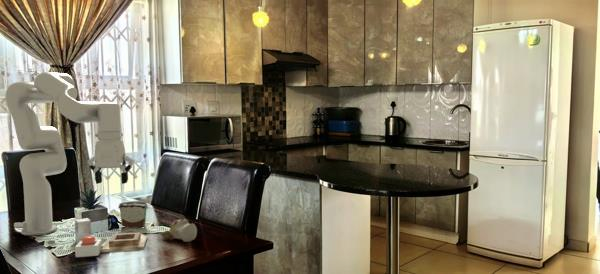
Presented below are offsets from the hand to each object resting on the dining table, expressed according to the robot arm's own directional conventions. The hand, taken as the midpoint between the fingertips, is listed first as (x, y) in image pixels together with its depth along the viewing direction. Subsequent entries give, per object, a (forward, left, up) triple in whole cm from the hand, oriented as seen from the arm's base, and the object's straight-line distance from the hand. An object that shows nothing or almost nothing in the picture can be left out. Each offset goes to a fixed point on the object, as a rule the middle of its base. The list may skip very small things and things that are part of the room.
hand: (111, 183), depth 171 cm
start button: (-7, -10, -19) cm, 22 cm away
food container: (+5, +24, -23) cm, 33 cm away
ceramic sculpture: (+24, 0, -23) cm, 33 cm away
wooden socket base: (+4, -3, -22) cm, 23 cm away
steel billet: (-12, +6, -22) cm, 26 cm away
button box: (-7, -10, -22) cm, 25 cm away
